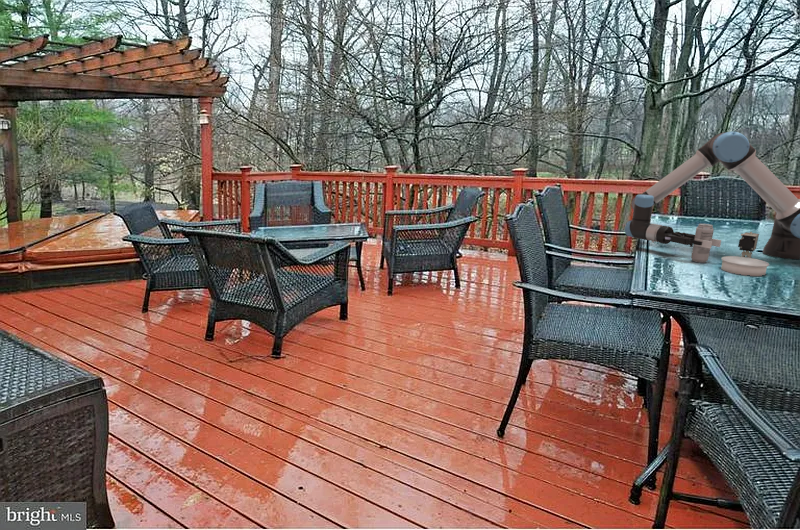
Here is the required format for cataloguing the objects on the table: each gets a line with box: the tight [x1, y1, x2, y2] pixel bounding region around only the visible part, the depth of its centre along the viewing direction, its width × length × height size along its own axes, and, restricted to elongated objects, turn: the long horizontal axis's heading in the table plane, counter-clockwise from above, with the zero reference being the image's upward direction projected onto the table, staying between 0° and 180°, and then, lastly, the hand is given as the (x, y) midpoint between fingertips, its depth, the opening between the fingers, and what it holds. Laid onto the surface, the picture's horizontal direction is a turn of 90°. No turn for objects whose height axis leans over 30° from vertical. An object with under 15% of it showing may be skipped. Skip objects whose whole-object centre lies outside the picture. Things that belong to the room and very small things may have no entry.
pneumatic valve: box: [737, 231, 760, 258], centre depth 207 cm, size 6×12×12 cm, turn 139°
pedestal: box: [720, 255, 770, 277], centre depth 190 cm, size 15×15×4 cm
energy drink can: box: [690, 223, 715, 264], centre depth 202 cm, size 6×6×15 cm
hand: (715, 244), depth 198 cm, fingers closed on energy drink can, 6 cm apart
